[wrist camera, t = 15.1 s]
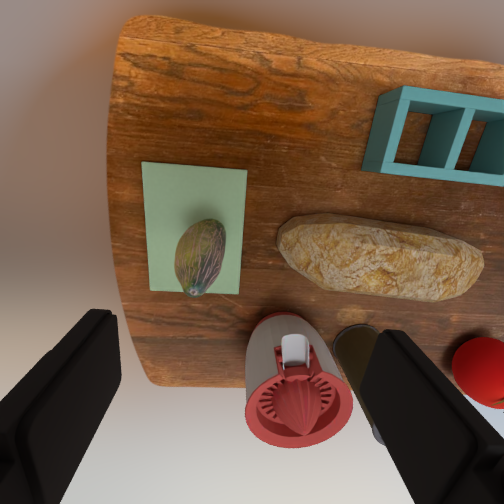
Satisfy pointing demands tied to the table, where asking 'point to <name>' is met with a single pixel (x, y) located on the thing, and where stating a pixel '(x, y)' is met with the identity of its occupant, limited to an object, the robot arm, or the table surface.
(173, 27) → the table surface
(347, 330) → the canister
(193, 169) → the mat
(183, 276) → the vegetable
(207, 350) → the table surface
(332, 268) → the bread
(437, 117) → the divided rectangular frame
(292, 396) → the citrus juicer
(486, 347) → the tomato
